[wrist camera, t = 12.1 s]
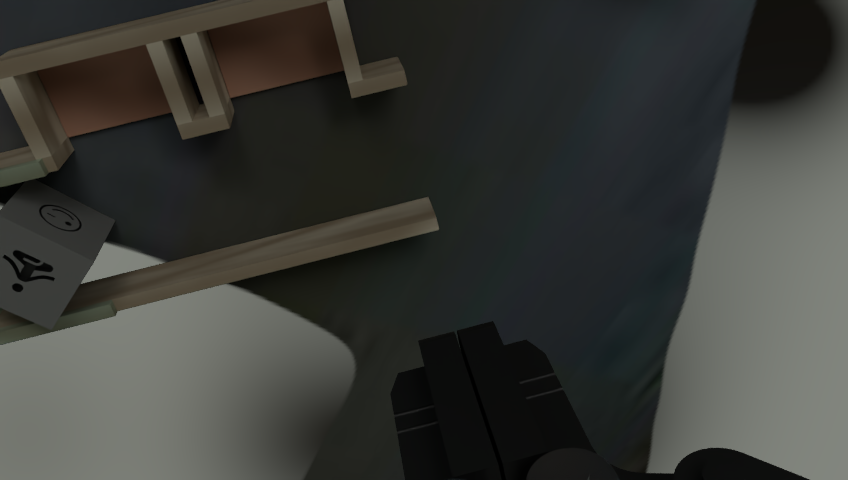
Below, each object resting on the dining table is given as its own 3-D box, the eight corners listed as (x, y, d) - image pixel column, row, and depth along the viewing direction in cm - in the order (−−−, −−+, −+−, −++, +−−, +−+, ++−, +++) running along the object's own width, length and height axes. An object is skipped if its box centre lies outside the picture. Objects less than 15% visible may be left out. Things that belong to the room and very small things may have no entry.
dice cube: (115, 220, 42) (94, 261, 38) (76, 283, 44) (51, 330, 39) (29, 176, 40) (-4, 214, 36) (-9, 243, 42) (-45, 288, 37)
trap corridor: (-137, 84, 37) (-176, 104, 34) (376, -37, 38) (383, -29, 35) (1, 316, 44) (-22, 350, 41) (430, 208, 45) (440, 233, 42)
